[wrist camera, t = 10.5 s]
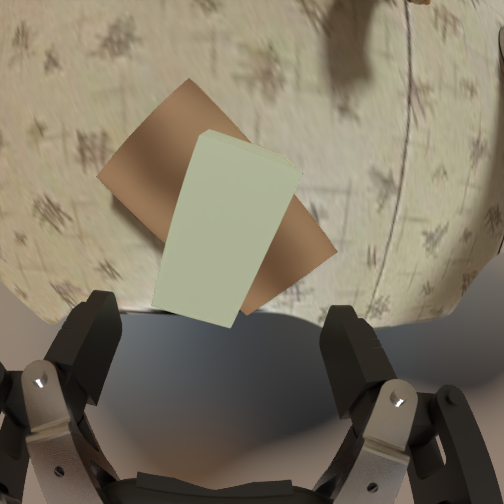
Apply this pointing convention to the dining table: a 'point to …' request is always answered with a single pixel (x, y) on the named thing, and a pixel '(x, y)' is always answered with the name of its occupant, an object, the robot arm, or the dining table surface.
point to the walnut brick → (172, 177)
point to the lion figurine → (419, 1)
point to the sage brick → (222, 227)
